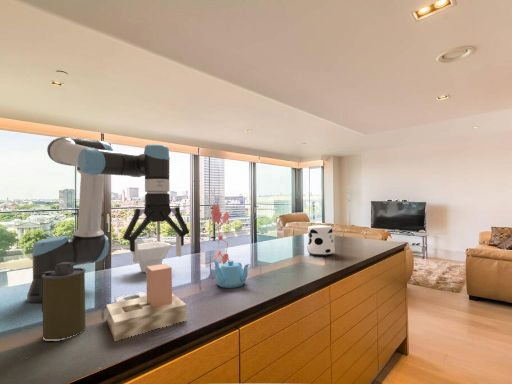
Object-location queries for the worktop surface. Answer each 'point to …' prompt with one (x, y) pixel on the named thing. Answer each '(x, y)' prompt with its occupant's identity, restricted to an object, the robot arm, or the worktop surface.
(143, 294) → the frame
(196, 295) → the worktop surface
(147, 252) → the bowl
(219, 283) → the teapot
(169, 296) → the stud block
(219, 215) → the pink leafy branch
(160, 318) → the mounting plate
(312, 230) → the milk container
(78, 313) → the canister
